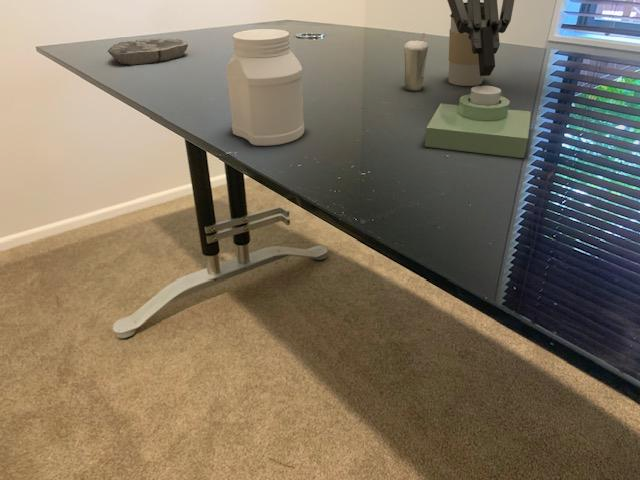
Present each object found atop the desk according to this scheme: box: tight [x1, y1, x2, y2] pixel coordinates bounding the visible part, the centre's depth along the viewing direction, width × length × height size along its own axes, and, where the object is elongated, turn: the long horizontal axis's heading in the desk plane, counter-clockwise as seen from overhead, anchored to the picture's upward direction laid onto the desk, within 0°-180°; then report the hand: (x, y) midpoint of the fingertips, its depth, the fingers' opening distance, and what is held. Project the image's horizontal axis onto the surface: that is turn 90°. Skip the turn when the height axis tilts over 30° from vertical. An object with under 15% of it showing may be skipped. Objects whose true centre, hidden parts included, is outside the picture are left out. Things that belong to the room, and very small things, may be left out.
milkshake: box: [403, 32, 430, 92], centre depth 98 cm, size 4×5×10 cm
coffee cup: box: [448, 1, 486, 87], centre depth 101 cm, size 9×9×15 cm
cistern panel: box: [424, 93, 532, 159], centre depth 76 cm, size 14×13×5 cm
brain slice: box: [107, 38, 189, 66], centre depth 129 cm, size 20×17×3 cm
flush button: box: [469, 85, 502, 106], centre depth 77 cm, size 4×4×2 cm
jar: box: [225, 28, 305, 147], centre depth 77 cm, size 12×10×15 cm
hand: (487, 71), depth 75 cm, fingers closed
